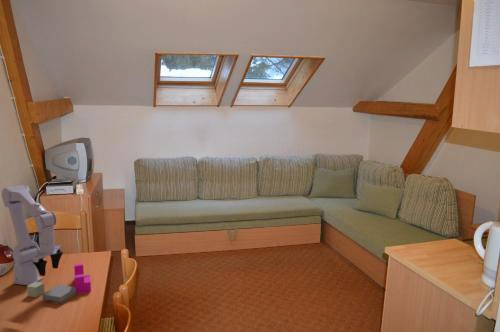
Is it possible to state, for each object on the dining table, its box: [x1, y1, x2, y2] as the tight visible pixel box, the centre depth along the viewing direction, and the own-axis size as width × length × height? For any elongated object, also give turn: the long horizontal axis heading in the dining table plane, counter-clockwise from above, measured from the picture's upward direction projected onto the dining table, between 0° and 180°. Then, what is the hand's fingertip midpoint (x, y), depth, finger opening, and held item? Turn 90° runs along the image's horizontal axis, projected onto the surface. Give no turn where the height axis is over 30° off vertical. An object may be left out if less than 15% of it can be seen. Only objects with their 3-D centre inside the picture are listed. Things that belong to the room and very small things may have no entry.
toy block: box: [73, 263, 92, 295], centre depth 179 cm, size 15×6×8 cm, turn 24°
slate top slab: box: [41, 284, 76, 302], centre depth 167 cm, size 9×9×2 cm
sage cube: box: [26, 281, 46, 298], centre depth 170 cm, size 4×4×4 cm
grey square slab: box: [42, 292, 77, 306], centre depth 167 cm, size 9×9×2 cm
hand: (49, 271), depth 170 cm, fingers open, 7 cm apart
